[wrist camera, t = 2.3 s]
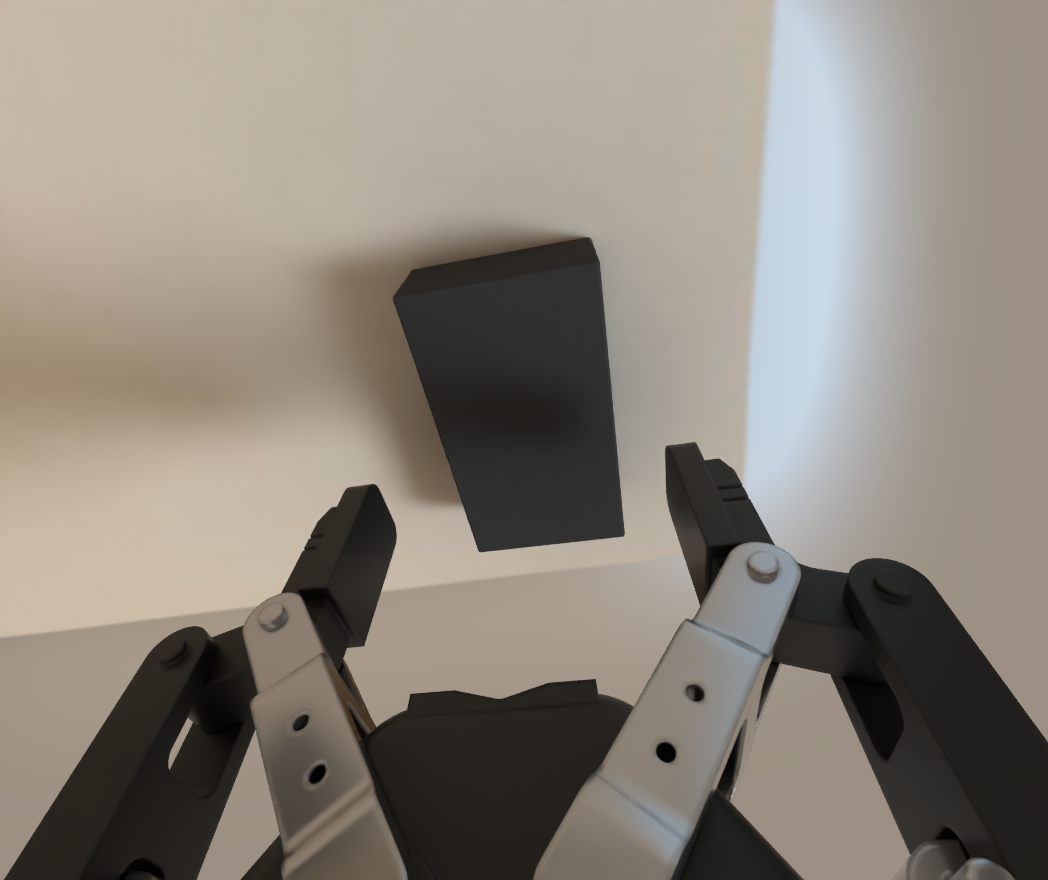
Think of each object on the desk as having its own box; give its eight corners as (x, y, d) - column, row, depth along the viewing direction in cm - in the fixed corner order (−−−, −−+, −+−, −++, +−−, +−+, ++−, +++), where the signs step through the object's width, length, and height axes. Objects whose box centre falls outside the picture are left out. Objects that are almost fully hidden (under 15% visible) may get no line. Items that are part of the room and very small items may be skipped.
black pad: (410, 269, 15) (391, 297, 13) (590, 236, 14) (599, 260, 12) (484, 507, 21) (478, 553, 19) (616, 491, 20) (625, 537, 18)
